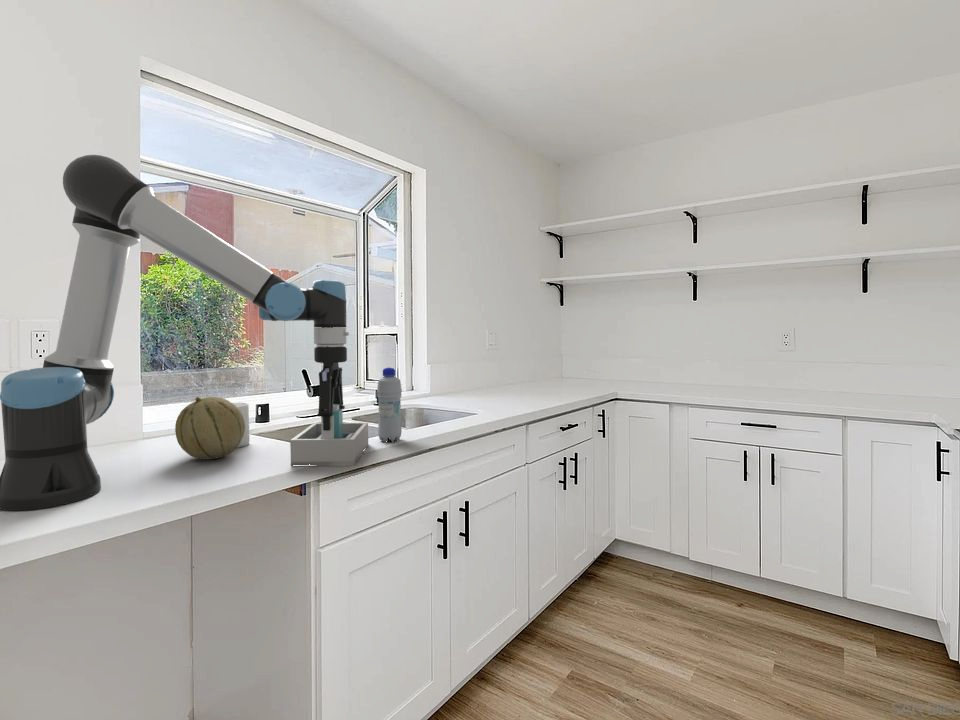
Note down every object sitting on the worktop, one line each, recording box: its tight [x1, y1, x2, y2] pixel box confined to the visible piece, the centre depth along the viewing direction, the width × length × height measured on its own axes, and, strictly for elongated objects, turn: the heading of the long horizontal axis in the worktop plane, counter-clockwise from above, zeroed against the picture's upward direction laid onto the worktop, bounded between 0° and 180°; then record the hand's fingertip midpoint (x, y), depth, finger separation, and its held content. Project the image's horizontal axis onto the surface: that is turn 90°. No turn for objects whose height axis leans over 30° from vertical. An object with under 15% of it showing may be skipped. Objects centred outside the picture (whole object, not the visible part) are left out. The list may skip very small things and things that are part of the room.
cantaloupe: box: [174, 396, 245, 460], centre depth 124 cm, size 15×15×15 cm
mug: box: [231, 402, 251, 449], centre depth 136 cm, size 9×12×11 cm
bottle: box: [376, 367, 403, 442], centre depth 143 cm, size 7×7×20 cm
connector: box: [332, 404, 344, 439], centre depth 127 cm, size 4×4×11 cm
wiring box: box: [289, 422, 369, 467], centre depth 127 cm, size 20×14×6 cm
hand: (332, 439), depth 127 cm, fingers open, 8 cm apart
